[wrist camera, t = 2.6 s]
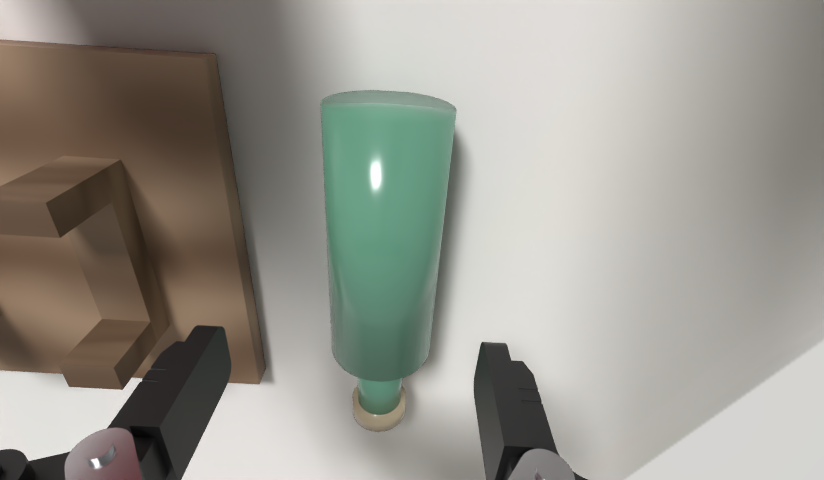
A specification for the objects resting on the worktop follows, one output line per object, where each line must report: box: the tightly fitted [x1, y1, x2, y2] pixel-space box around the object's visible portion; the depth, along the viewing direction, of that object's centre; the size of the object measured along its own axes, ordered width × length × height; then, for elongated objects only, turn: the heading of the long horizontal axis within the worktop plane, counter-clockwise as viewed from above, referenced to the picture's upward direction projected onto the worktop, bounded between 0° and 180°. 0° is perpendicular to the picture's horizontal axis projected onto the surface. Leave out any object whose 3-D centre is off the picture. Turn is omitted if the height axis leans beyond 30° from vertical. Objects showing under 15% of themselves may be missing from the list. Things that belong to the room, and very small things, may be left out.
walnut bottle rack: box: [0, 40, 266, 390], centre depth 19 cm, size 18×20×6 cm
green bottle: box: [321, 90, 456, 432], centre depth 20 cm, size 17×5×5 cm, turn 176°
